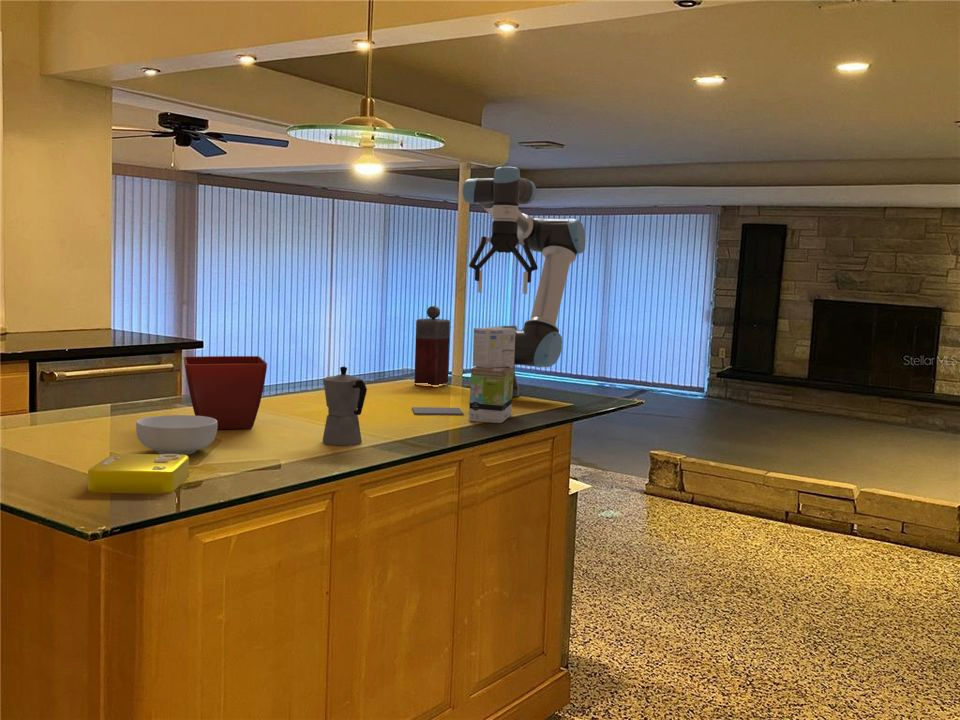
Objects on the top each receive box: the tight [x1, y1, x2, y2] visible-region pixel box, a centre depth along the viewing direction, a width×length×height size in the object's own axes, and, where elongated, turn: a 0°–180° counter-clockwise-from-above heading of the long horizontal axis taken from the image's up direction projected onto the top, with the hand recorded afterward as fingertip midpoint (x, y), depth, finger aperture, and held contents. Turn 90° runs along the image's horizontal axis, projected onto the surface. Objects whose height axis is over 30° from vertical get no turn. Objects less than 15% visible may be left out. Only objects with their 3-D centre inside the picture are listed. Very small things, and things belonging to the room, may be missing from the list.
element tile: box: [87, 453, 190, 495], centre depth 164 cm, size 15×15×5 cm
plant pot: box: [183, 355, 268, 430], centre depth 222 cm, size 19×19×17 cm
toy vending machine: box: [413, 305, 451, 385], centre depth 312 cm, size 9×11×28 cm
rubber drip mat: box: [411, 406, 464, 416], centre depth 255 cm, size 10×14×1 cm
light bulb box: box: [472, 327, 515, 368], centre depth 246 cm, size 11×7×11 cm, turn 134°
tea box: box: [468, 366, 514, 424], centre depth 247 cm, size 15×10×15 cm, turn 169°
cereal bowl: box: [135, 414, 218, 456], centre depth 191 cm, size 17×17×7 cm
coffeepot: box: [322, 366, 368, 447], centre depth 206 cm, size 15×9×18 cm, turn 43°
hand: (502, 293), depth 261 cm, fingers open, 13 cm apart
